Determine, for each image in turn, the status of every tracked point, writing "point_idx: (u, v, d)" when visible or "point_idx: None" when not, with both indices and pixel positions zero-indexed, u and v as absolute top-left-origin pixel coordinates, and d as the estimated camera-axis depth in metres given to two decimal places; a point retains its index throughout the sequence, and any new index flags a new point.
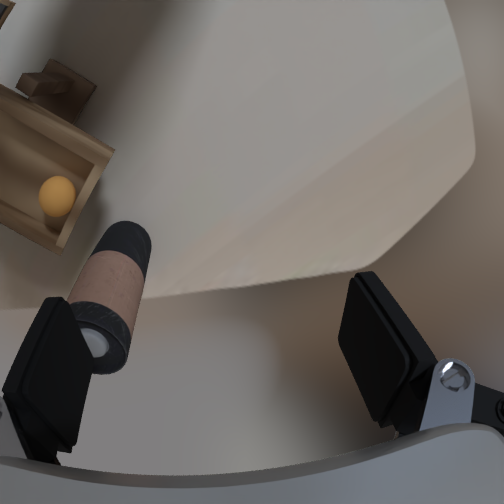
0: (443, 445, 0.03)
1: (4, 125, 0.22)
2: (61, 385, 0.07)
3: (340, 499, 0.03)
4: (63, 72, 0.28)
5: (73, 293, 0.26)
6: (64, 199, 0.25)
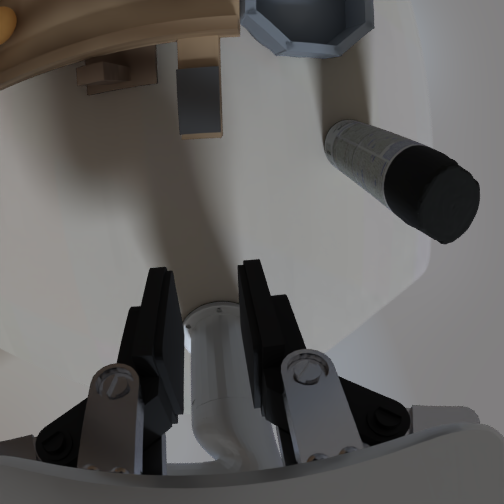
0: (443, 445, 0.03)
1: (91, 20, 0.17)
2: (175, 351, 0.09)
3: (340, 498, 0.03)
4: (128, 82, 0.28)
5: None
6: None
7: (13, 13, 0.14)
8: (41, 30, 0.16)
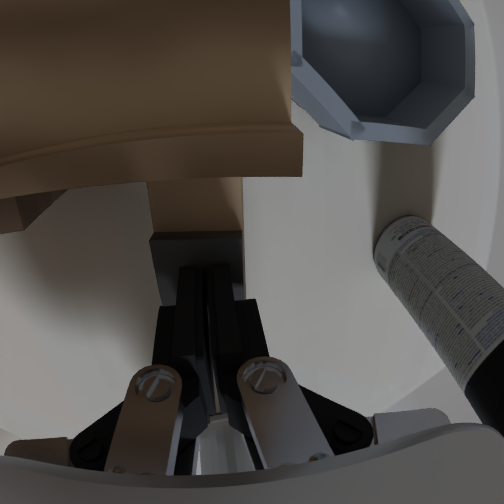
0: (443, 445, 0.03)
1: None
2: (208, 351, 0.09)
3: (340, 498, 0.03)
4: None
5: None
6: None
7: None
8: None
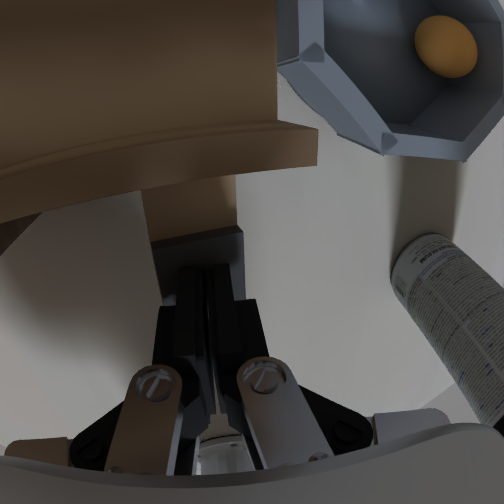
0: (443, 445, 0.03)
1: None
2: (208, 351, 0.09)
3: (340, 499, 0.03)
4: None
5: None
6: None
7: (459, 33, 0.10)
8: None
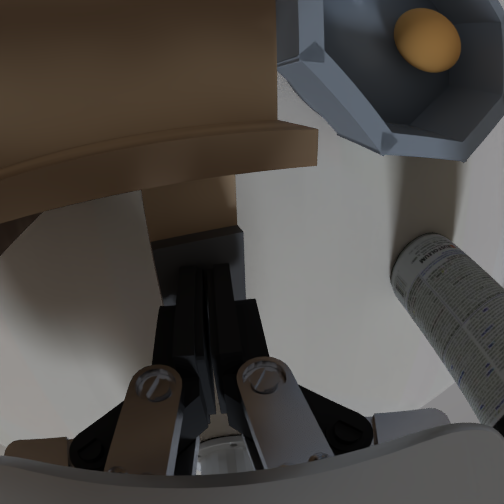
0: (443, 445, 0.03)
1: None
2: (208, 351, 0.09)
3: (340, 498, 0.03)
4: None
5: None
6: None
7: (414, 21, 0.11)
8: None
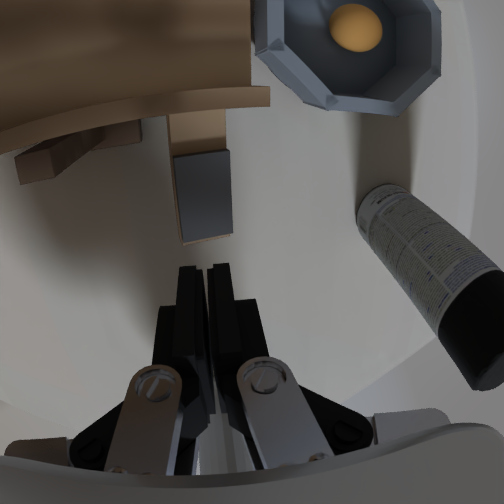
0: (443, 445, 0.03)
1: (30, 79, 0.10)
2: (208, 351, 0.09)
3: (340, 499, 0.03)
4: (102, 141, 0.21)
5: None
6: None
7: (331, 16, 0.17)
8: None
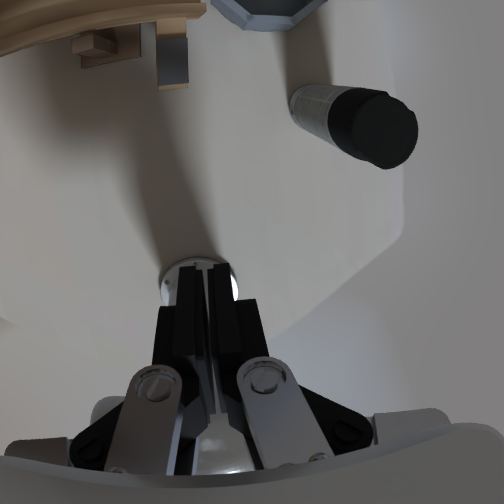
0: (443, 445, 0.03)
1: (87, 2, 0.20)
2: (208, 351, 0.09)
3: (340, 499, 0.03)
4: (116, 56, 0.31)
5: None
6: None
7: None
8: (39, 7, 0.17)
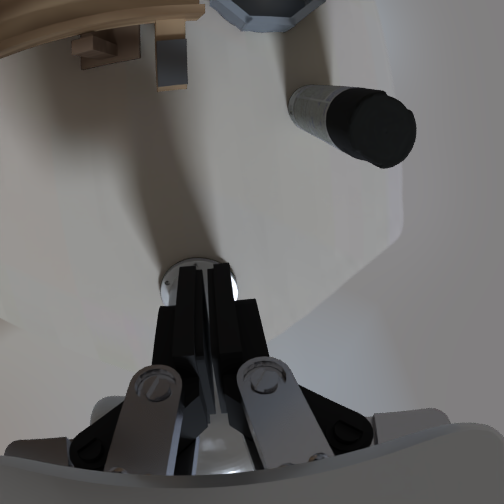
0: (443, 445, 0.03)
1: (87, 4, 0.20)
2: (208, 351, 0.09)
3: (340, 499, 0.03)
4: (115, 57, 0.31)
5: None
6: None
7: None
8: (39, 9, 0.18)
